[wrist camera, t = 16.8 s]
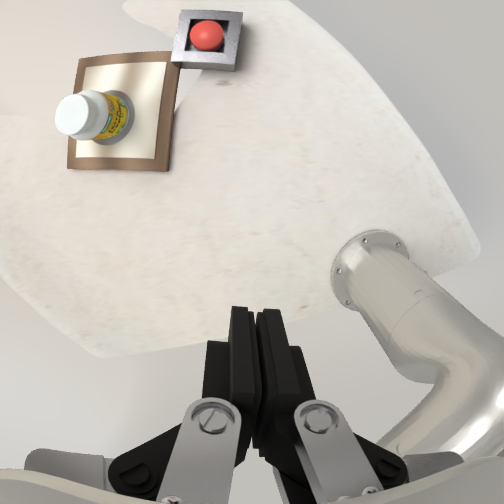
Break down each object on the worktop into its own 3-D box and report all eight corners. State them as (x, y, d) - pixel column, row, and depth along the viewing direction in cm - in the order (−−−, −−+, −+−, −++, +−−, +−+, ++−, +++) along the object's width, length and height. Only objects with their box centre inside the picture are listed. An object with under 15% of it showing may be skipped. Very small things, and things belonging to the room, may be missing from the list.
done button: (225, 29, 26) (225, 21, 24) (221, 54, 28) (220, 48, 25) (195, 27, 26) (192, 19, 24) (190, 52, 27) (187, 46, 25)
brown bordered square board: (183, 54, 28) (180, 50, 27) (168, 170, 34) (165, 172, 32) (83, 60, 27) (78, 58, 26) (71, 167, 32) (65, 169, 31)
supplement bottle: (94, 96, 28) (53, 88, 19) (133, 95, 29) (99, 83, 20) (89, 138, 30) (46, 142, 21) (127, 139, 30) (91, 142, 22)
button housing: (242, 23, 27) (242, 12, 24) (234, 71, 30) (234, 64, 26) (185, 20, 27) (181, 9, 23) (176, 68, 29) (170, 61, 26)
